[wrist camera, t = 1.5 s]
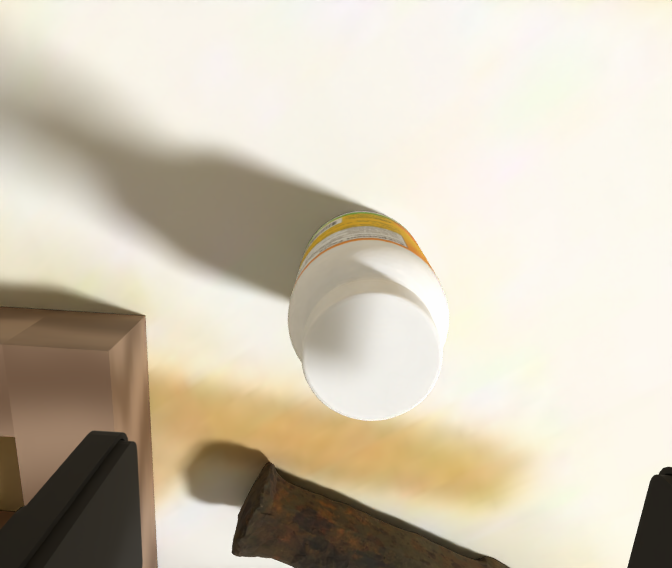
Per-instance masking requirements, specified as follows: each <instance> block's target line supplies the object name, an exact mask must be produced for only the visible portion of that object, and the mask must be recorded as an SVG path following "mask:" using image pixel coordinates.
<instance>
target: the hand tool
mask: <svg viewBox="0 0 672 568" xmlns="http://www.w3.org/2000/svg"><path fill="white" fill-rule="evenodd" d="M232 554H233V555H235V556H239V557H241V556H244V557H257V556H259V557H263V558H272V559H275V560H278V561H280V562H283V563H285V564H288V565H290V566H292V567H294V568H508V567H507V566H505V565H504V564H502V563H500V562H499V561H497V560H495V559H493V558H491V557H486V556H484V557H483V558H481V559H478V560H473V559H470V558H468V557H465V556H463V555H460V554H458V553H455V552H453V551H452V550H450V549H448V548H445V547H443V546H441V545H438V544H436V543H434V542H432V541H430V540H428V539H426V538H425V537H422V536H420V535H419V534H417V533H413V532H410V531H406V530H402V529H399V528H397V527H395V526H392V525H390V524H388V523H385V522H383V521H381V520H378V519H376V518H374V517H372V516H370V515H368V514H367V513H365V512H362V511H360V510H356V509H354V508H353V507H351V506H349V505H347V504H345V503H340V502H336V501H332V500H330V499H328V498H326V497H324V496H322V495H319V494H316V493H312V492H310V491H307V490H305V489H303V488H300V487H298V486H295V485H293V484H291V483H289V482H287V481H285V480H284V479H283V478H282V477H280V476H279V474H278V473H277V471H276V469H275V466H274V464H272V463H267V464H266V465H265V467H264V468H263V470H262V471H261V473H260V475H259V477H258V478H257V480H256V481H255V483H254V485H253V486H252V488H251V490H250V492H249V494H248V496H247V498H246V500H245V502H244V504H243V506H242V508H241V510H240V512H239V514H238V522H237V527H236V531H235V535H234V538H233V545H232Z"/></svg>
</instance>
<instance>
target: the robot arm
mask: <svg viewBox="0 0 672 568" xmlns="http://www.w3.org/2000/svg"><path fill="white" fill-rule="evenodd" d="M142 565H143V558H142V537H141V516H140V495H139V475H138V454H137V445H136V442H134V441H128V437H127V435H126V434H125V433H124V432H111V431H95V430H94V431H91V432H90V433H88V434H87V436H86V437H85V438H84V439H83V440H82V441H81V442H80V444H79V445H78V446H77V447H76V448H75V449H74V451H73V452H72V453H71V454H70V455H69V456H68V458H67V459H66V460H65V461H64V462H63V463H62V465H61V466H60V467H59V468H58V469H57V470H56V471H55V473H54V474H53V475H52V476H51V477H50V478H49V480H48V481H47V482H46V483H45V484H44V485H43V487H42V488H41V489H40V490H39V491H38V492H37V494H36V495H35V496H34V497H33V498H32V499H31V500H30V502H29V503H28V504H27V505H26V506H23V507H21V508H20V509H19V510H18V511H17V512H16V513H14V514H13V516H12V517H11V518H10V519H9V520H8V521H7V522H6V524H5V525H4V526H3V527H2V528H1V529H0V568H142ZM627 568H672V467H666V468H663V469H662V470H661V471H660V473H659V475H654V476H653V477H652V478H651V481H650V484H649V488H648V491H647V495H646V499H645V503H644V507H643V510H642V514H641V518H640V522H639V526H638V529H637V533H636V537H635V541H634V545H633V548H632V552H631V556H630V560H629V564H628V567H627Z"/></svg>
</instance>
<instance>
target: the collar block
mask: <svg viewBox="0 0 672 568" xmlns="http://www.w3.org/2000/svg"><path fill="white" fill-rule="evenodd" d="M94 430H95V431H111V432H124V433H125V434H126V435H127V437H128V441H134V442H136V445H137V454H138V475H139V495H140V516H141V537H142V558H143V565H142V568H158V566H157V545H156V525H155V504H154V484H153V463H152V443H151V423H150V402H149V382H148V361H147V341H146V321H145V316H140V315H124V314H108V313H92V312H76V311H61V310H45V309H29V308H13V307H0V436H6V437H15V442H16V449H17V457H18V464H19V471H20V478H21V486H22V493H23V500H24V506H26V505H27V504H28V503H29V502H30V500H31V499H32V498H33V497H34V496H35V495H36V494H37V492H38V491H39V490H40V489H41V488H42V487H43V485H44V484H45V483H46V482H47V481H48V480H49V478H50V477H51V476H52V475H53V474H54V473H55V471H56V470H57V469H58V468H59V467H60V466H61V465H62V463H63V462H64V461H65V460H66V459H67V458H68V456H69V455H70V454H71V453H72V452H73V451H74V449H75V448H76V447H77V446H78V445H79V444H80V442H81V441H82V440H83V439H84V438H85V437H86V436H87V434H88V433H90V432H91V431H94ZM14 513H16V512H12V511H0V529H1V528H2V527H3V526H4V525H5V524H6V522H7V521H8V520H9V519H10V518H11V517H12V516H13V514H14Z"/></svg>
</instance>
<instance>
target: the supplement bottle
mask: <svg viewBox="0 0 672 568" xmlns="http://www.w3.org/2000/svg"><path fill="white" fill-rule="evenodd" d="M448 327H449V309H448V303H447V299H446V296H445V293H444V290H443V288H442V285H441V283H440V281H439V279H438V277H437V276H436V274H435V272H434V271H433V269H432V267H431V266H430V264H429V263H428V261H427V259H426V257H425V256H424V254H423V253H422V251H421V249H420V248H419V246H418V244H417V243H416V241H415V240H414V238H413V237H412V236H411V234H410V233H409V232H408V231H407V230H406V229H405V228H404V227H403V226H402V225H401V224H400V223H398V222H397V221H395V220H393V219H392V218H390V217H388V216H385V215H382V214H379V213H375V212H369V211H355V212H349V213H346V214H343V215H340V216H338V217H335V218H333V219H332V220H330V221H328V222H327V223H325V224H324V225H323V226H322V227H321V228H320V229H319V230H318V231H317V232H316V233H315V234H314V236H313V237H312V239H311V240H310V242H309V243H308V245H307V247H306V250H305V252H304V255H303V258H302V261H301V265H300V268H299V271H298V275H297V278H296V281H295V284H294V288H293V290H292V294H291V298H290V303H289V310H288V328H289V334H290V339H291V342H292V345H293V348H294V350H295V352H296V354H297V356H298V358H299V359H300V361H301V362H302V368H303V372H304V375H305V378H306V380H307V382H308V384H309V386H310V388H311V390H312V391H313V393H314V394H315V395H316V396H317V398H318V399H319V400H320V401H321V402H322V403H324V404H325V405H326V406H327V407H329V408H330V409H332V410H333V411H335V412H337V413H339V414H341V415H344V416H347V417H350V418H354V419H359V420H365V421H375V420H385V419H389V418H393V417H396V416H399V415H401V414H403V413H405V412H407V411H409V410H411V409H412V408H414V407H415V406H416V405H418V404H419V403H420V402H421V401H422V400H423V399H424V398H425V397H426V396H427V395H428V394H429V392H430V391H431V390H432V388H433V387H434V385H435V383H436V381H437V379H438V376H439V373H440V369H441V365H442V348H443V346H444V343H445V341H446V337H447V333H448Z"/></svg>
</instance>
